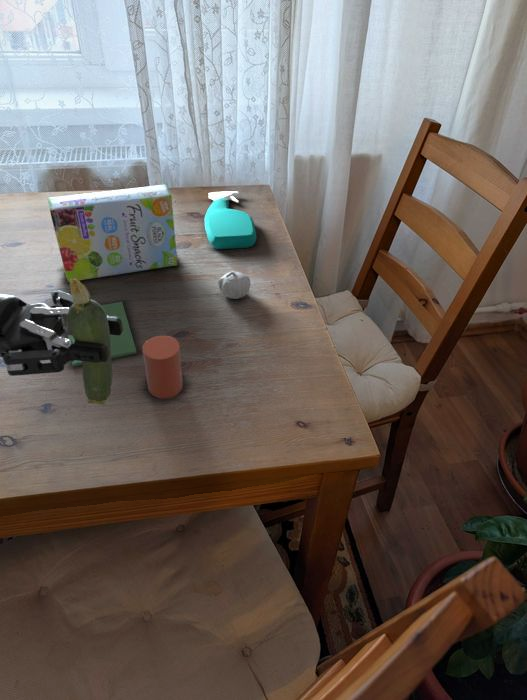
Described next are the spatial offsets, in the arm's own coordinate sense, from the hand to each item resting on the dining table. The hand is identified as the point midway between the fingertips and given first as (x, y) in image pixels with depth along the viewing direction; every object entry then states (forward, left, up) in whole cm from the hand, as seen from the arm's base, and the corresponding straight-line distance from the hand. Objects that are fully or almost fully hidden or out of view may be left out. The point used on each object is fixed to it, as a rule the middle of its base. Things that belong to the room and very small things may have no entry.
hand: (113, 339), depth 62 cm
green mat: (+17, +16, -17) cm, 28 cm away
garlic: (+36, -1, -17) cm, 39 cm away
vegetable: (-1, +3, -11) cm, 12 cm away
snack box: (+36, +23, -17) cm, 45 cm away
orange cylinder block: (+10, 0, -17) cm, 19 cm away
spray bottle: (+61, +11, -17) cm, 65 cm away
